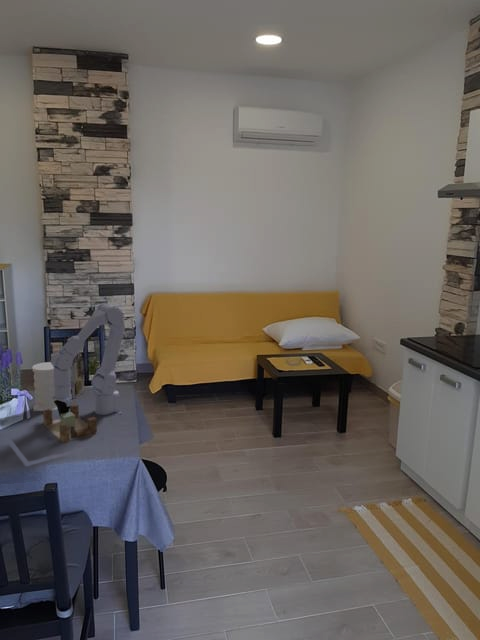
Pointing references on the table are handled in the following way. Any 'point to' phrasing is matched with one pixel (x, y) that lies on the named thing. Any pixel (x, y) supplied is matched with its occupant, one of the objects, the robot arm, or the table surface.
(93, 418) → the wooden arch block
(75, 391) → the coffee box
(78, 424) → the stool board
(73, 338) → the robot arm
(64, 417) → the lock block
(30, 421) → the table surface
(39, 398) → the decorative container
